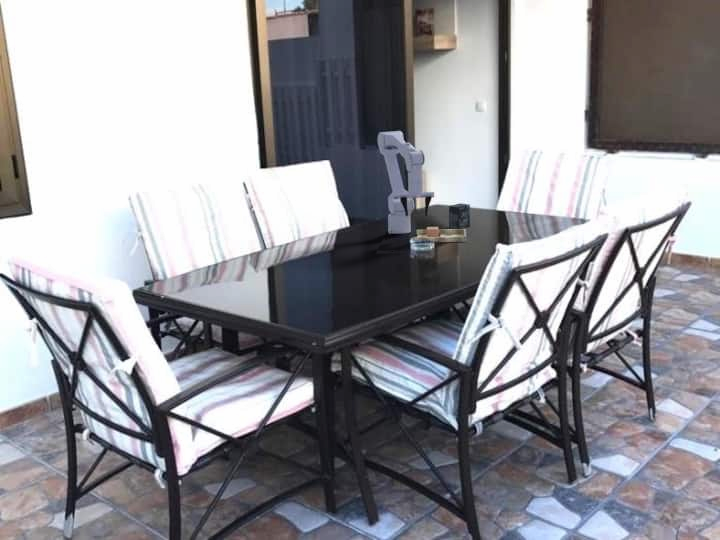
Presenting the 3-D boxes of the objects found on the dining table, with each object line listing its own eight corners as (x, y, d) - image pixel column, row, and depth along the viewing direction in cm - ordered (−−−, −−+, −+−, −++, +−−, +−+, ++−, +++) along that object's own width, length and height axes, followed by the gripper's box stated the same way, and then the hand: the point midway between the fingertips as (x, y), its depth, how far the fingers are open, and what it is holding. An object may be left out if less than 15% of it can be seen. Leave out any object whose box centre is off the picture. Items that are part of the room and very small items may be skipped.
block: (426, 239, 294) (426, 229, 293) (427, 236, 298) (427, 227, 297) (438, 238, 293) (437, 229, 292) (438, 236, 298) (438, 226, 297)
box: (459, 231, 312) (458, 206, 309) (448, 230, 316) (448, 205, 313) (470, 228, 317) (470, 204, 314) (460, 226, 321) (459, 203, 318)
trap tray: (414, 245, 290) (414, 237, 289) (416, 236, 305) (416, 229, 304) (466, 244, 287) (465, 237, 286) (466, 236, 302) (466, 228, 301)
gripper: (396, 183, 288) (397, 217, 292) (433, 182, 286) (434, 216, 290) (397, 181, 295) (399, 214, 298) (434, 180, 293) (434, 213, 296)
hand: (416, 215), depth 294 cm, fingers open, 7 cm apart
